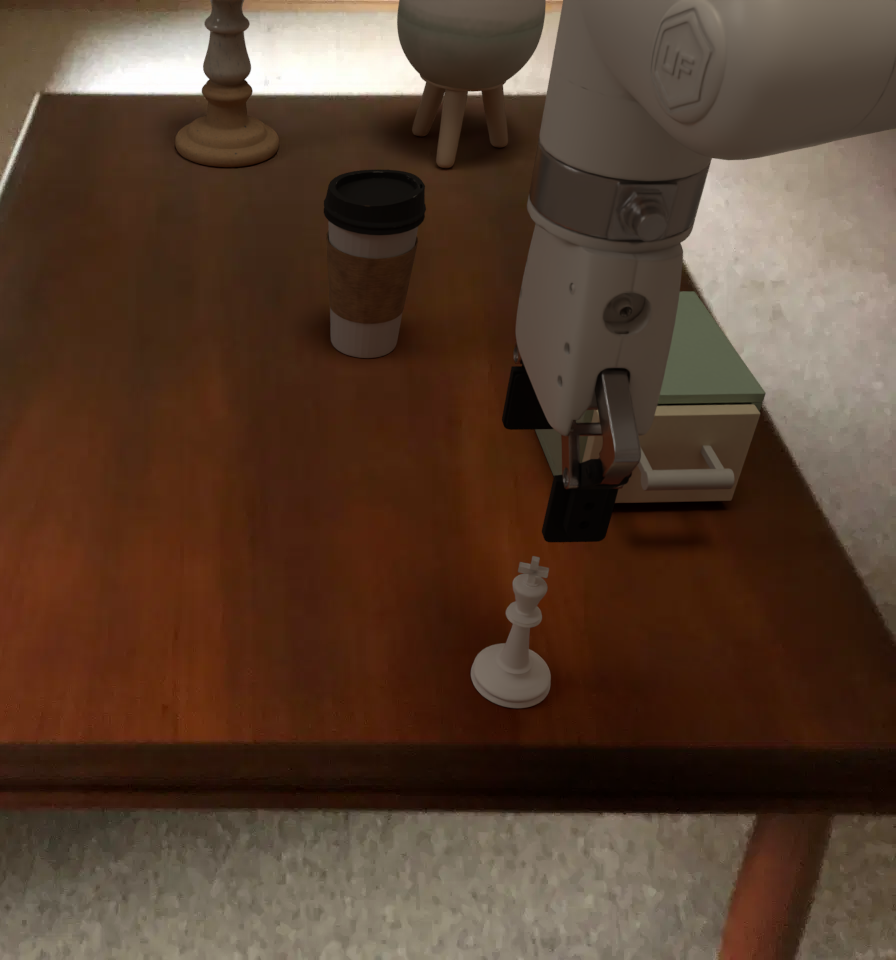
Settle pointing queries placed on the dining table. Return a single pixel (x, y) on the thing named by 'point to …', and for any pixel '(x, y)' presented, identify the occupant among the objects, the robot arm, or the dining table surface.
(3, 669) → the dining table surface
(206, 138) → the candle holder
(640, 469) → the drawer
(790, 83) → the robot arm
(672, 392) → the cabinet
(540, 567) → the chess piece
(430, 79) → the planter
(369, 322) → the coffee cup
